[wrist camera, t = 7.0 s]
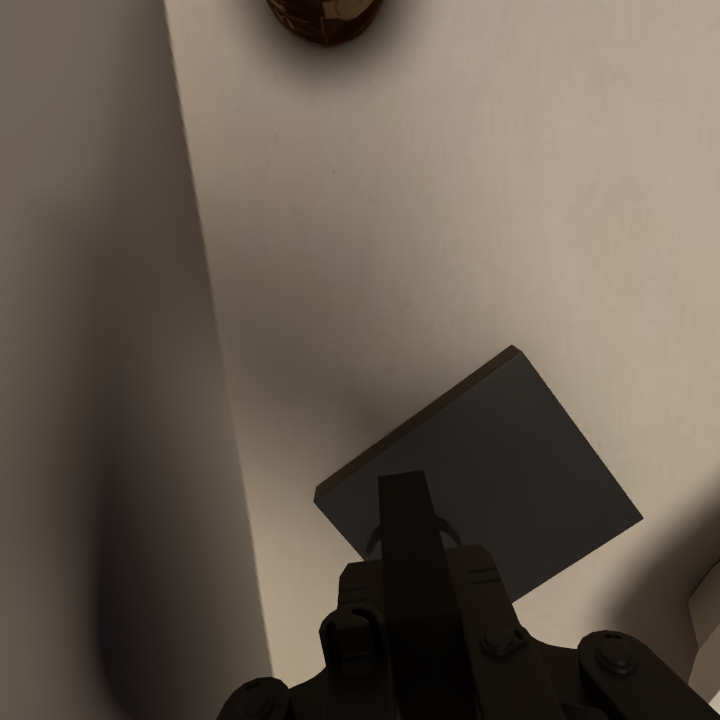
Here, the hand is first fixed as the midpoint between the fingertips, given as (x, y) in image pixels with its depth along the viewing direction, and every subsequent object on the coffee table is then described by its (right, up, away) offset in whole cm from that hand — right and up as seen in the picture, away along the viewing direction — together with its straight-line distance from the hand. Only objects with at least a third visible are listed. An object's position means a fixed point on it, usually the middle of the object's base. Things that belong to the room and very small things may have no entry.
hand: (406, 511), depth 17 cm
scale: (+6, -4, +16) cm, 17 cm away
